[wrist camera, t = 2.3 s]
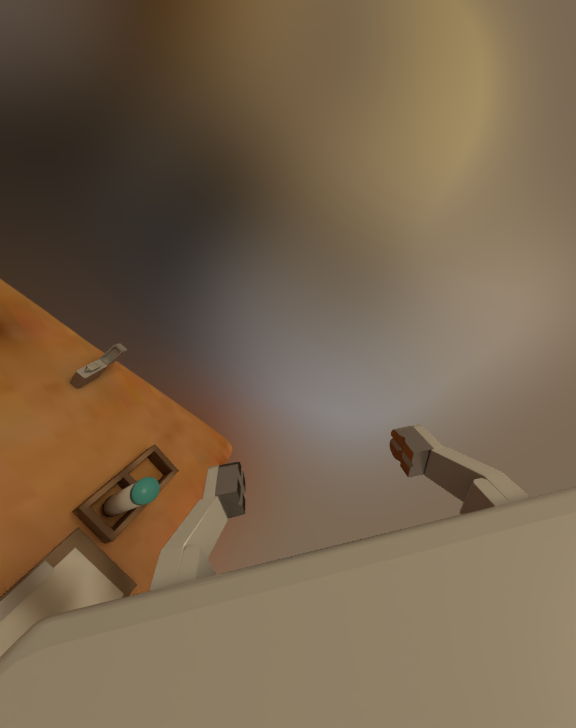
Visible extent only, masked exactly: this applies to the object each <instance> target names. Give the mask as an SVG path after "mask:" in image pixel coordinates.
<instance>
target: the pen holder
mask: <svg viewBox="0 0 576 728" xmlns="http://www.w3.org/2000/svg"><path fill="white" fill-rule="evenodd" d="M146 457H148V458H149V459H150V461H151V462H152V463H153V464H154V465H155V466H156V467H157V468H158V469H159V470H160V471H161V473H162V474H163V475H164V476H163V477H162V478H161V479H160V480H159V481H158V483H159V487H160V488H159V491H160V490H161V489H162V488H163V487H164V486H165V485H166V484H167V483H168V482H169V481H170V480H171V478H172V477H173V476H174V475H175V474H176V473H177V472H178V471H179V470H178V469H177V468H176V467H175V466H174V465H173V464H172V463H171V462H170V460H169V459H168V458H167V457H166V456H165V455H164V454H163V453H162V452H161V450H160V449H159V448H158V447H157V446H156V445H153V446H152V447H150V448H149V449H147V450H146V451H145V452H144V453H142V454H141V455H140V456H139V457H137V458H136V459H135V460H134V461H133V462H131V463H130V464H129V465H128V466H127V467H125V468H124V469H123V470H122V471H121V472H119V473H118V474H117V475H116V476H114V477H113V478H112V479H111V480H110V481H108V482H107V483H106V484H105V485H104V486H102V487H101V488H100V489H99V490H98V491H96V492H95V493H94V494H93V495H91V496H90V497H89V498H88V499H87V500H85V501H84V502H83V503H82V504H81V505H79V506H78V507H77V508H76V509H75V510H73V511H72V512H73V513H74V514H75V515H76V516H77V517H78V518H79V519H80V520H82V521H83V522H84V523H85V524H86V525H87V526H88V527H89V528H90V529H91V530H92V531H93V532H94V533H95V534H96V535H97V536H98V537H99V538H100V539H101V540H102V541H103V542H104V543H107V542H111V541H113V540H114V539H115V538H116V537H117V536H118V535H119V534H120V533H121V532H122V531H123V530H124V528H125V527H126V526H127V525H128V524H129V523H130V522H131V521H132V520H133V519H134V518H135V517H136V516H137V515H138V514H139V512H140V511H141V510H142V509H143V508H144V507H145V506H146V505H147V504H145V505H141V506H139V507H136V508H134V509H131V510H129V511H128V512H127V513H126V514H125V515H124V516H123V517H122V518H121V519H120V520H119V521H118V522H117V523H116V524H115V525H114V526H113V527H112V528H110V527H109V526H108V525H107V524H106V523H105V522H104V521H103V520H102V519H101V518H100V517H99V516H98V515H97V514H96V513H95V512H94V511H93V510H92V509H91V508H90V507H89V506H90V505H92V504H93V503H94V502H95V501H96V500H97V499H99V498H100V497H101V496H102V495H103V494H104V493H106V492H107V491H108V490H109V489H110V488H111V487H113V486H114V485H115V484H116V483H118V484H119V486H120V487H121V488H122V489H125V488H127V487H128V486H130V485H132V484H134V483H136V481H135V480H134V479H133V478H132V476H131V475H130V474H129V472H130V471H131V470H132V469H134V468H135V467H136V466H137V465H138V464H139V463H141V462H142V461H143V460H144V459H145V458H146Z"/></svg>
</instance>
